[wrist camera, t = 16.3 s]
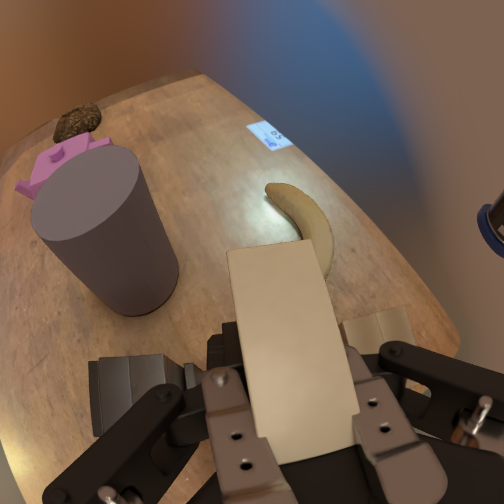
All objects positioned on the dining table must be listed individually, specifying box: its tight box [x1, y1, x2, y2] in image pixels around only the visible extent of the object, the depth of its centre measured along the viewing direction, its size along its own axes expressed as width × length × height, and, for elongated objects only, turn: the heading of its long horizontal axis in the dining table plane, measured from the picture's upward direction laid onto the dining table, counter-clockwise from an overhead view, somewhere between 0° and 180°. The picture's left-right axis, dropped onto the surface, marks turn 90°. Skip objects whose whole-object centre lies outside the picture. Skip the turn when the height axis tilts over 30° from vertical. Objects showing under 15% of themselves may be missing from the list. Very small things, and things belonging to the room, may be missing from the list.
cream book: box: [226, 239, 360, 465], centre depth 11 cm, size 2×6×11 cm, turn 10°
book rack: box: [88, 305, 419, 437], centre depth 20 cm, size 24×6×12 cm, turn 100°
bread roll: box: [53, 103, 101, 143], centre depth 49 cm, size 13×12×5 cm
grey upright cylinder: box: [31, 145, 178, 316], centre depth 25 cm, size 10×10×15 cm
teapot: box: [14, 132, 114, 200], centre depth 34 cm, size 18×10×10 cm, turn 111°
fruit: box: [265, 183, 334, 279], centre depth 33 cm, size 7×15×3 cm, turn 5°
